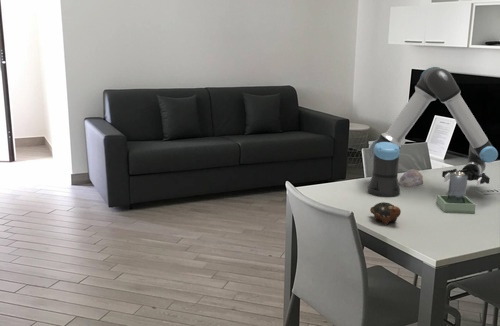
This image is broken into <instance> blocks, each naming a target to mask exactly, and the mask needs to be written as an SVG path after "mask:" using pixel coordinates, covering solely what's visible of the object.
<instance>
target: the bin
mask: <svg viewBox="0 0 500 326" xmlns="http://www.w3.org/2000/svg"><path fill="white" fill-rule="evenodd" d="M447 199H448V194H437V195H436V202H435V204H436V206H437V207H439V209H441V211H442V212H443V213H445V214H446V213H447V214H448V213H450V214H473V215H474V214H475V213H476V212H475V211H476V203H475V202H474V201H473V200H472V199H470V198H469V197H468V196H467V195H465V202H464V204H461V203H447Z"/></svg>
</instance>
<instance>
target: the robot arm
mask: <svg viewBox="0 0 500 326" xmlns="http://www.w3.org/2000/svg"><path fill="white" fill-rule="evenodd" d="M414 90H415V92H414V93H413V94H412V96H411V97H410V98H409V100H408V101H407V103H406V104H405V105H404V107H403V108H402V110H401V111H400V112H399V113H398V115H397V117H396V118H395V119H394V121H393V122H392V124H391V125H390V126H389V128H388V130H386V132H384V133H383V132H381V134H380V135H379V136H378V138H377V139H375V140H374V141H373V142H372V143H371V144H370V147H369V149H368V150H369V152H368V154H369V157H370V159H371V160H372V173H371V178H370V180H369V183H368V185H367V189H366V190H367V191H366V192H367V193H368V194H370V195H372V196H376V197H384V198H391V197H393V198H394V197H398V196H399V195H400V194H401V188H400V184H399V179H398V173H399V162H400V153H401V151H400V150H401V148H402V142H403V140H404V139H405V137H406V136H407V135H408V133H409V132H410V130H411V129H412V128H413V126H414V125H416V124H415V123H416V122H417V121H418V119H419V118H420V117H421V116H422V115H423V113H424V112H425V110H426V109H427V107H428V106H429V104H430V103H431V102H433V101H436V100H437V99H439V101H440V103H442V104H444V105H445V106H446V107H447V109H448V111H449V112H450V114H451V116H452V117H453V119H454V120H455V122H456V124H457V125H458V127H459V128H460V130H461V131H462V133H463V134H464V135H465V138H466V139H467V141H468V142H469V149H468V158H467V164H466V165H464V167H463V168H462V169H459V170H457V168H453V169H450V170H449V169H447V170H442V172H441V173H442V174H441V177H442V178H444V182H448V181H450V174H451V173H454V172H457V173H458V172H463V173H464V174H466V175H467V176H468V178H467V181H469V182H470V181H476V187H479V186H481V185H484V184H490V177H489V176H488V175H487V174H486V172H484V171H485V170H486V163H487V164H488V163H489V164H490V163H492V162H495V161H496V160H497V158H498V157H499V152H498V150H497V148H495V147H494V146H493V144H492V143H491V141H490V140H489V139H488V136H487V134H485V131H483V129H482V127H481V125H480V124H479V122H478V121H477V119H476V118H475V115H473V113H472V111H471V109H470V107H468V105H467V103H466V102H465V100H464V99H463V97H462V95H461V89H460V87H459V85H458V84H457V82H456V80H455V78H454V77H453V75H452V74H451V72H450V71H449V70H447V69H446V68H442V67H440V66H439V67H438V66H431V67H429V68H426V69H425V70H423V72H421V74H420V77H419V80H418V82H417V83H416V85H414Z"/></svg>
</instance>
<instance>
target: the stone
mask: <svg viewBox="0 0 500 326" xmlns="http://www.w3.org/2000/svg"><path fill="white" fill-rule="evenodd" d="M423 177H424V176H423V175H422V173H421V172H420V171H419V170H417V169H415V168H414V169H412V168H411V169H408V170H407V171H405V172H404V173H403V175H401V177H400V179H399V180H398V183H399V186H402V187H406V188H417V187H420V186H422V185H423V184H424V178H423Z"/></svg>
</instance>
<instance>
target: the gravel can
mask: <svg viewBox="0 0 500 326" xmlns="http://www.w3.org/2000/svg"><path fill="white" fill-rule="evenodd" d="M467 178H468V176H467V175H466V174H464V173H463V172H458V173H457V172H454V173H451V174H450V179H449V181H448V182H449V185H448V193H447V195H448V199H447V203H461V204H464V202H465V196H466V195H467V194H466V193H467V185H468V180H467Z"/></svg>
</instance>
